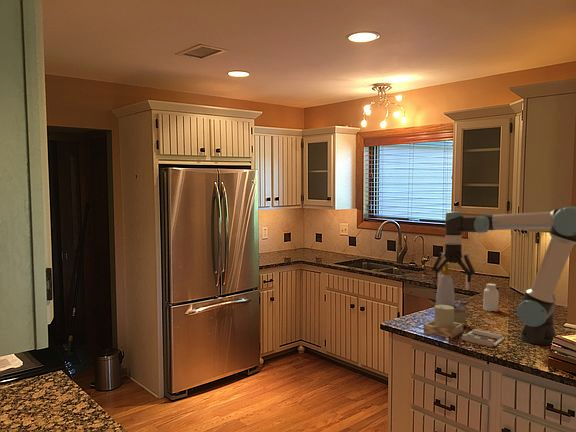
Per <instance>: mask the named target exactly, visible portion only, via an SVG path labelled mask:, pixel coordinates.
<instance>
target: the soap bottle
mask: <svg viewBox="0 0 576 432" xmlns="http://www.w3.org/2000/svg"><path fill="white" fill-rule="evenodd" d="M449 265H450V263H449V262H448V263H447V264H446V265H445V266H444V268H442V272H441V285H440V286H438V285H437V287H436V288H437V289H436V296H435V305H449V306H453V307H454V308H455V307H456V304H455V300H456V299H455V286H454V281H453V276H452V275H451V269H450V268H449Z"/></svg>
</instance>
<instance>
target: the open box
mask: <svg viewBox="0 0 576 432" xmlns="http://www.w3.org/2000/svg"><path fill="white" fill-rule="evenodd" d="M425 332H426V334H430V333H431V334H430V335H434V334H436V335H435V336H439V335H441V336H440V337H443V336H446V337H445V338H448V337H450V338H449V339H454V338H455V337H457V336H459V335H460V334H461V332H462V333H463V332H464V323H463V324H461V323H456V322H454V323H453V329H446V328H441V327H437V326H434V319H432V320H430V321H428V322H426V323H424V324H423V333H425ZM459 333H460V334H459ZM456 335H457V336H456ZM454 336H455V337H454Z"/></svg>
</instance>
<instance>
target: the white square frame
mask: <svg viewBox="0 0 576 432" xmlns="http://www.w3.org/2000/svg"><path fill="white" fill-rule="evenodd" d="M476 335H477V336H476ZM478 335H479V336H478ZM461 338H462V339H461ZM491 338H493V339H497V341H495V342H494V340H493V339H491ZM460 339H461V340H462V341H463V340H465V341H464V342H468V343H472V344H478V345H481V344H482V345H481V346H486V347H491V348H492V347H493V346H494V347H496V346H498V345H499V344H500V343H502V342H503V341H504V340H505V338H504V337H503V335H502V334H499V333H494V332H489V331H484V330H479V329H472V330H470V331H468V332H467V333H462V335H461V337H460Z"/></svg>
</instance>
